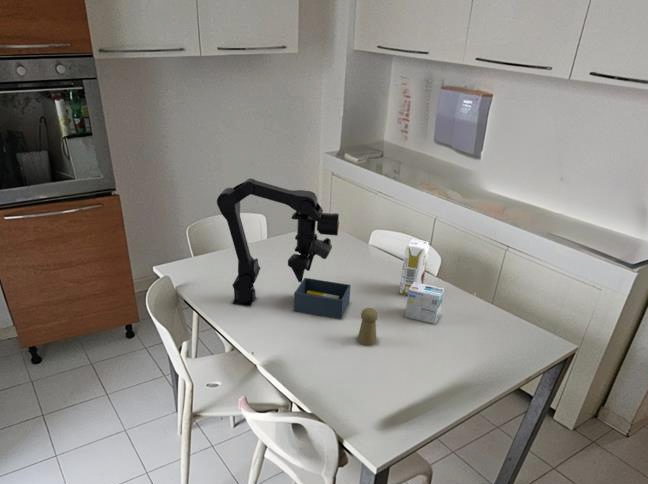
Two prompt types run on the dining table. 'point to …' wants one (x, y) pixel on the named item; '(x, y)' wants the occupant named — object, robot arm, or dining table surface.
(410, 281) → the juice carton
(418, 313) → the light bulb box
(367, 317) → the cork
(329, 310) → the dark blue open bin
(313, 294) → the medication box
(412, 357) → the dining table surface
